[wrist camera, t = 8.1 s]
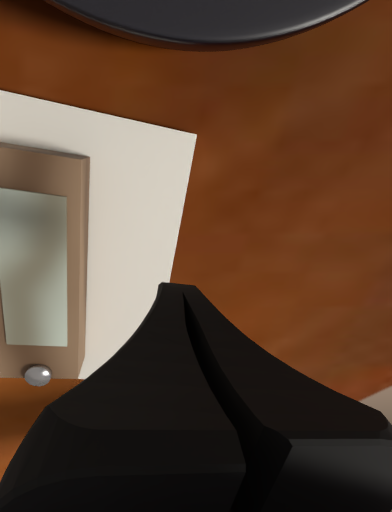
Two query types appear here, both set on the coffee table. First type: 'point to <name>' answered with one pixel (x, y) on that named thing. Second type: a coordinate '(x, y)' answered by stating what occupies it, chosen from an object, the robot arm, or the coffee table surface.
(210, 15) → the round tray
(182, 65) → the coffee table surface
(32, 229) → the frame
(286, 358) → the coffee table surface
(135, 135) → the wall board
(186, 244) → the coffee table surface
